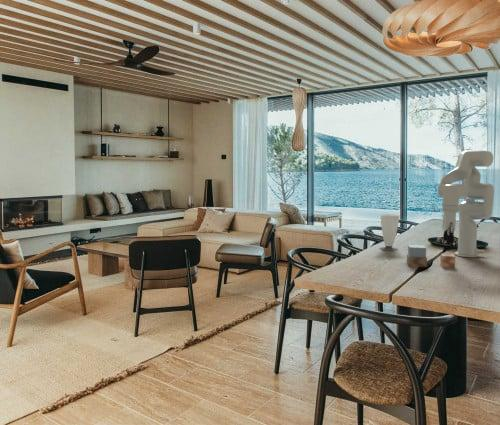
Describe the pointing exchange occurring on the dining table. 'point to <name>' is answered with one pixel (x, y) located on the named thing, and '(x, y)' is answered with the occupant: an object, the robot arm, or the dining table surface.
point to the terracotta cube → (447, 260)
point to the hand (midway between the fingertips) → (448, 241)
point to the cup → (389, 230)
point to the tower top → (417, 251)
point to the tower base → (416, 261)
